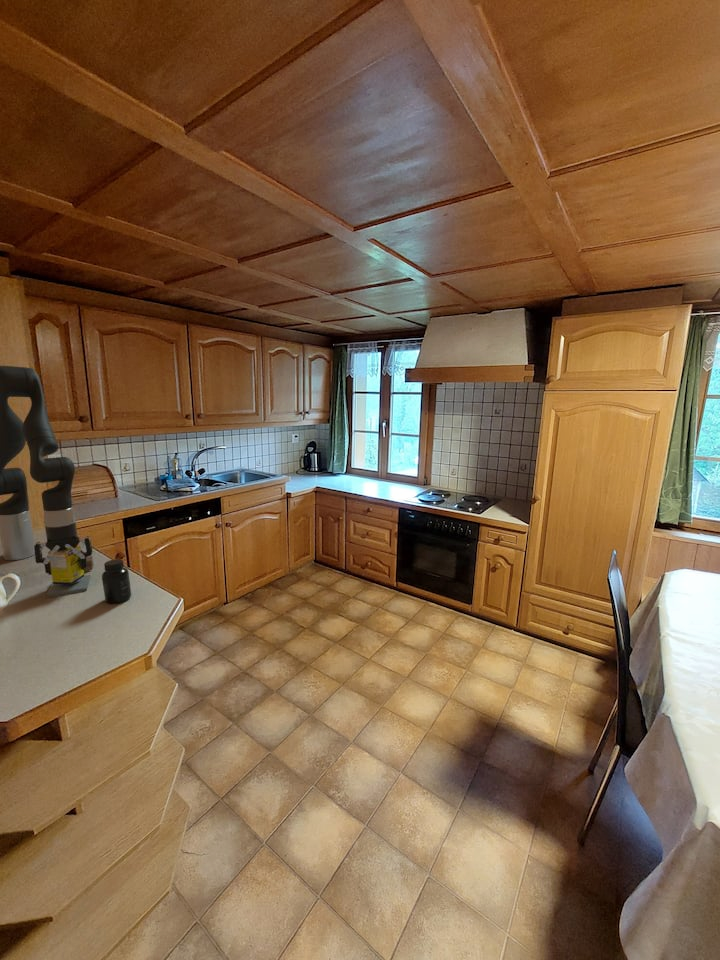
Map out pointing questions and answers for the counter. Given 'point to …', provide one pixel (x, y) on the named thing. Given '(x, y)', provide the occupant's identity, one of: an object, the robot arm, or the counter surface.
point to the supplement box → (66, 567)
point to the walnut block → (89, 563)
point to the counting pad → (69, 587)
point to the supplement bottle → (116, 582)
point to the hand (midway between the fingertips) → (67, 571)
